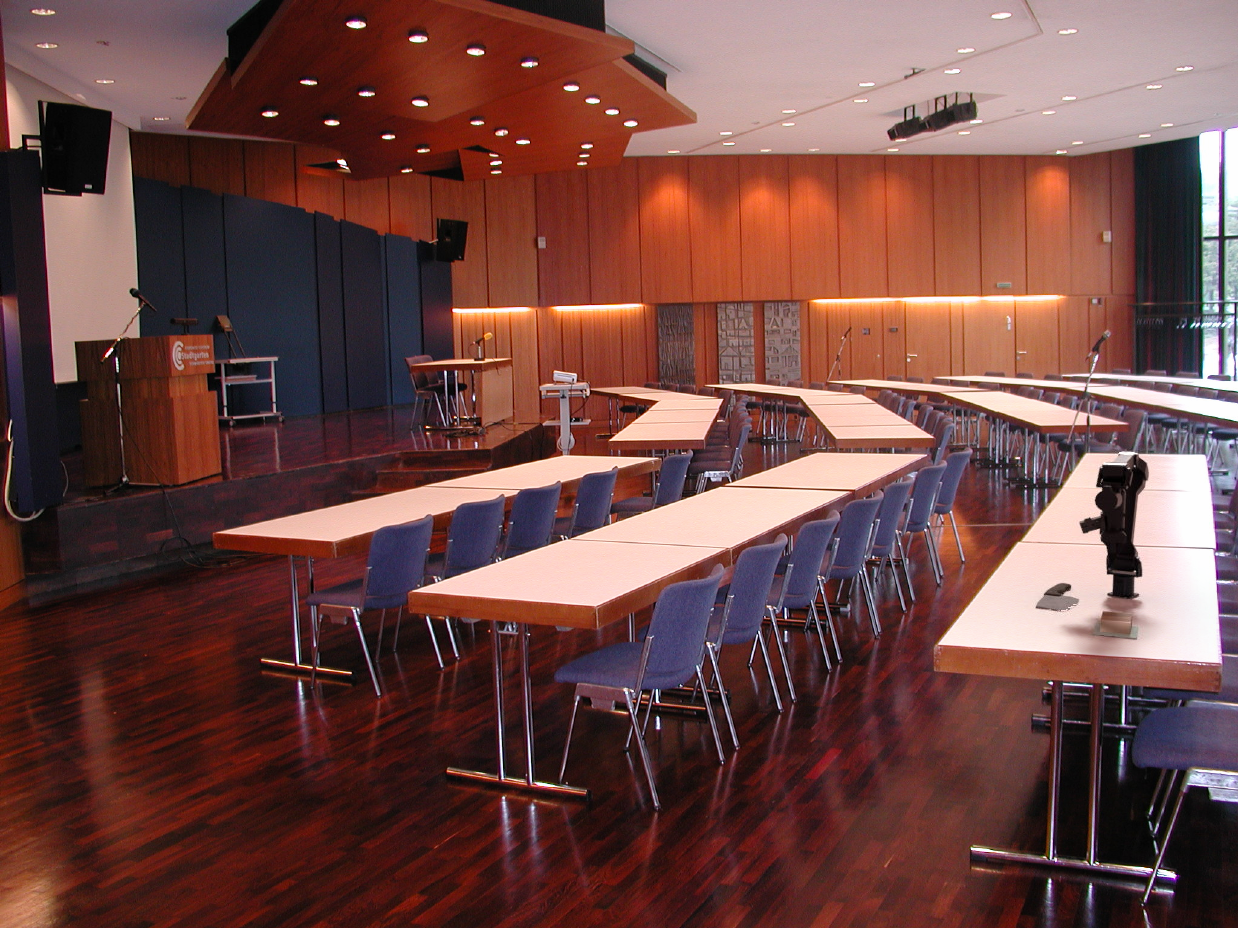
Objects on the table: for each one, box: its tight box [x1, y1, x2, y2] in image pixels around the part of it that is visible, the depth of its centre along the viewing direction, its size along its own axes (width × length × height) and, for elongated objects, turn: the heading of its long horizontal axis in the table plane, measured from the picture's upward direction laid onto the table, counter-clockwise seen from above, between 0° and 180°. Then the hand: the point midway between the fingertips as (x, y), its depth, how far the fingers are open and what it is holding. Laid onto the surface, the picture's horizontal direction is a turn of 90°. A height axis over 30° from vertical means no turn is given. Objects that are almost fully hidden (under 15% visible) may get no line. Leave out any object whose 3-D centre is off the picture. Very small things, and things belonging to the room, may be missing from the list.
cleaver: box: [1035, 582, 1080, 612], centre depth 302 cm, size 30×10×2 cm, turn 148°
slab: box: [1099, 610, 1133, 634], centre depth 270 cm, size 3×7×10 cm
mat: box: [1092, 621, 1139, 640], centre depth 268 cm, size 12×10×1 cm
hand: (1111, 564), depth 288 cm, fingers closed
